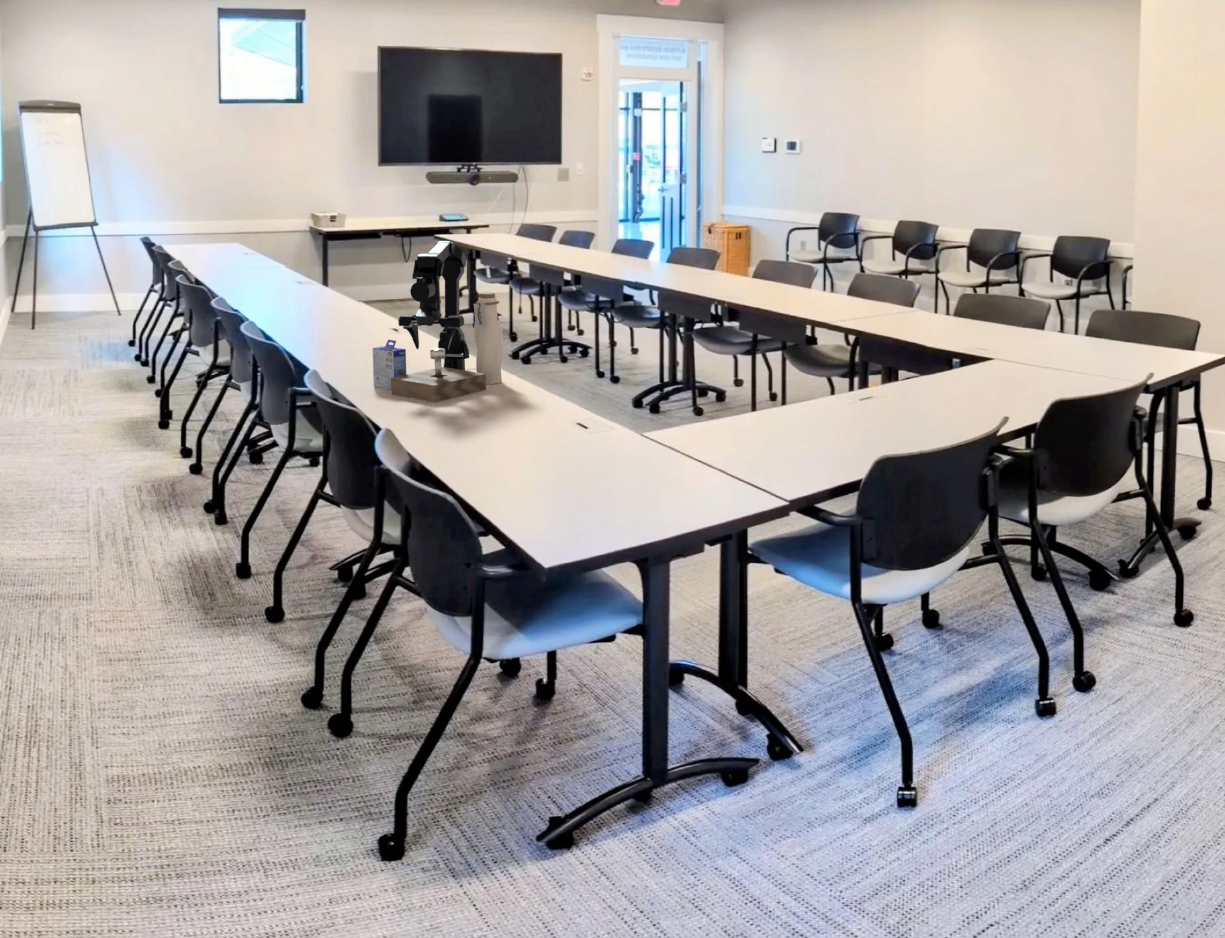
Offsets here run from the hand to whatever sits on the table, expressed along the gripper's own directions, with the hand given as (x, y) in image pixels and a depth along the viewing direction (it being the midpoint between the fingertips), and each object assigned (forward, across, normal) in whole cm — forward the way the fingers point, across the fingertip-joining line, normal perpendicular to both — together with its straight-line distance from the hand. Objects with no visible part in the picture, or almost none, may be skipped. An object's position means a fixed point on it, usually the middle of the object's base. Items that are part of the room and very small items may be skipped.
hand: (432, 349), depth 339 cm
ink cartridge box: (+13, -15, +5) cm, 21 cm away
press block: (+13, +2, 0) cm, 13 cm away
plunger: (+9, +1, 0) cm, 9 cm away
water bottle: (+13, +13, +16) cm, 25 cm away
